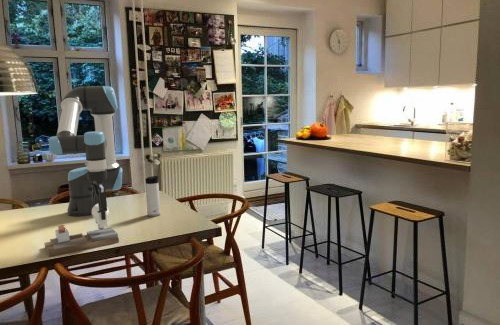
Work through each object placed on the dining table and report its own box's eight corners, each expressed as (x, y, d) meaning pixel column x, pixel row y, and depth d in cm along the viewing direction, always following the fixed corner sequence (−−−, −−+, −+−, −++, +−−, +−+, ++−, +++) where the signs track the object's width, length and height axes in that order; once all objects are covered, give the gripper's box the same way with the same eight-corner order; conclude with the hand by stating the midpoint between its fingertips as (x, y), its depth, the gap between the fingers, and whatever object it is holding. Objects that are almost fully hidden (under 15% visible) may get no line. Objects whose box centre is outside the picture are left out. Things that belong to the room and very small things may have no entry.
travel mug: (157, 217, 203) (155, 177, 199) (145, 216, 204) (142, 177, 201) (162, 213, 209) (160, 174, 206) (150, 213, 210) (148, 174, 207)
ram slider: (56, 242, 163) (54, 225, 162) (67, 239, 166) (65, 223, 164) (59, 246, 158) (57, 229, 157) (70, 244, 161) (68, 227, 160)
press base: (44, 247, 164) (44, 239, 164) (110, 234, 178) (110, 226, 178) (49, 256, 154) (48, 248, 154) (118, 242, 168) (118, 234, 168)
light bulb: (113, 228, 170) (111, 203, 168) (98, 233, 165) (95, 206, 164) (105, 225, 175) (102, 200, 173) (90, 229, 170) (87, 204, 168)
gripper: (81, 167, 172) (86, 220, 175) (92, 174, 156) (97, 232, 160) (100, 165, 176) (104, 217, 180) (112, 172, 160) (117, 229, 164)
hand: (101, 224), depth 170 cm, fingers closed on light bulb, 6 cm apart
